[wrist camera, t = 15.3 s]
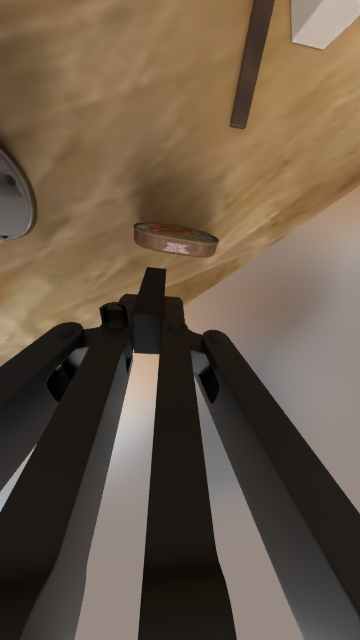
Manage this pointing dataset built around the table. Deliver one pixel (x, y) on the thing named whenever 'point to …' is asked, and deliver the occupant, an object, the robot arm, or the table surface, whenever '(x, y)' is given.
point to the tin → (174, 239)
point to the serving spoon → (251, 61)
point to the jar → (321, 20)
